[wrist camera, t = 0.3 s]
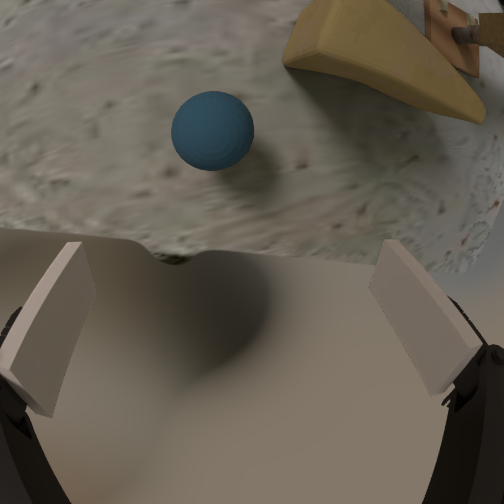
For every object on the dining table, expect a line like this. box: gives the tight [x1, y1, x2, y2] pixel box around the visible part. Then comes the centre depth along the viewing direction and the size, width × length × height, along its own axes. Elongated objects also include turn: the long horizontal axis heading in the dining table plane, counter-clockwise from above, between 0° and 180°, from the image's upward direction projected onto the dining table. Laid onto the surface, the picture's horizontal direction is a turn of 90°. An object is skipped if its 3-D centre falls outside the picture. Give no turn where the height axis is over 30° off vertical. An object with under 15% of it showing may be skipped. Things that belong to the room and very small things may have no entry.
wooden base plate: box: [424, 0, 479, 78], centre depth 24 cm, size 12×12×6 cm
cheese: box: [283, 0, 486, 124], centre depth 25 cm, size 22×10×15 cm, turn 71°
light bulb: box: [171, 91, 254, 171], centre depth 29 cm, size 8×8×12 cm
